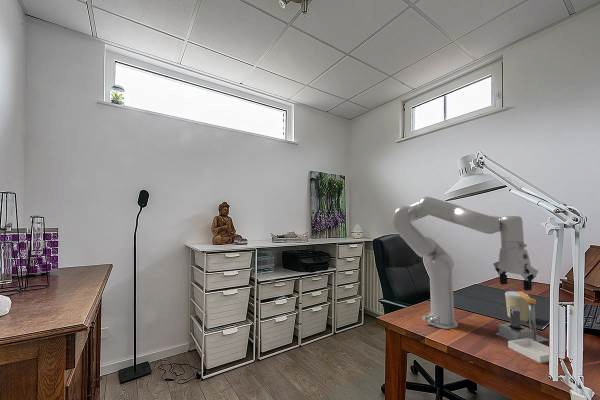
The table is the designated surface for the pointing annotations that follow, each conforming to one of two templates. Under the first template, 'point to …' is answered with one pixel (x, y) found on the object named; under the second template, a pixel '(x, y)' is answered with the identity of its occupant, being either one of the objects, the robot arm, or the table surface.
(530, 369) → the table surface
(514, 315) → the pin
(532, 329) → the hitch
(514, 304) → the coffee cup
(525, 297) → the yellow curved piece
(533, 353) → the tray
